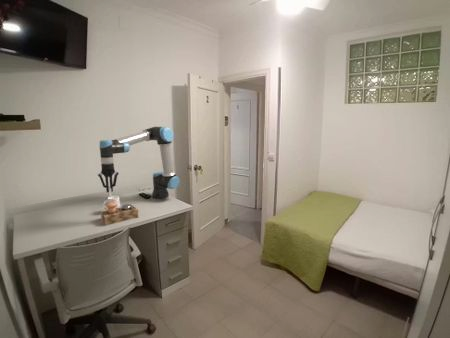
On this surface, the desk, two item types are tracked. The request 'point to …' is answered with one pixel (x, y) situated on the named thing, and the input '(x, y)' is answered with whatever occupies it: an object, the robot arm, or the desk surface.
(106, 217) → the block
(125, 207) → the ball grey
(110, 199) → the mug
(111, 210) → the peach ball
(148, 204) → the desk surface
